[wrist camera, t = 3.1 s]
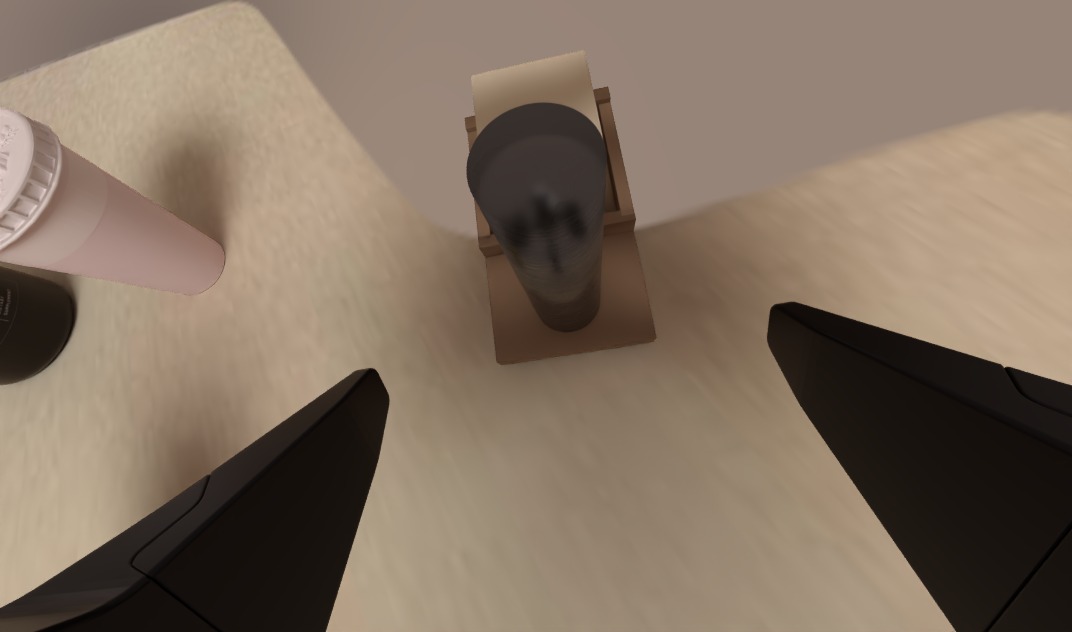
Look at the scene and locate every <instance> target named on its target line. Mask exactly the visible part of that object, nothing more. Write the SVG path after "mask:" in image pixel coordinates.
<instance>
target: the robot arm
mask: <svg viewBox="0 0 1072 632" xmlns="http://www.w3.org/2000/svg"><path fill="white" fill-rule="evenodd" d="M767 342H768V345H769V348H770V350H771V352H772V354H773V356H774V357H775V359H776V361H777V363H778V365H779V367H780V369H781V371H782V373H783V374H784V376H785V378H786V380H787V382H788V384H789V386H790V388H791V390H792V392H793V393H794V395H795V397H796V399H797V401H798V402H799V404H800V406H801V407H802V409H803V410H804V412H805V413H806V415H807V416H808V418H809V419H810V421H811V422H812V424H813V425H814V426H815V428H816V429H817V431H818V432H819V434H820V435H821V437H822V438H823V439H824V441H825V442H826V444H827V445H828V447H829V448H830V450H831V451H832V453H833V454H834V455H835V457H836V458H837V460H838V461H839V463H840V464H841V466H842V467H843V468H844V470H845V471H846V473H847V474H848V476H849V477H850V479H851V480H852V481H853V483H854V484H855V486H856V487H857V489H858V490H859V492H860V493H861V495H862V496H863V497H864V499H865V500H866V502H867V503H868V505H869V506H870V508H871V509H872V510H873V512H874V513H875V515H876V516H877V518H878V519H879V521H880V522H881V524H882V525H883V526H884V528H885V529H886V531H887V532H888V534H889V535H890V537H891V538H892V539H893V541H894V542H895V544H896V545H897V547H898V548H899V550H900V551H901V552H902V554H903V555H904V557H905V558H906V560H907V561H908V563H909V564H910V566H911V567H912V568H913V570H914V571H915V573H916V574H917V576H918V577H919V579H920V580H921V581H922V583H923V584H924V586H925V587H926V589H927V590H928V592H929V593H930V594H931V596H932V597H933V599H934V600H935V602H936V603H937V605H938V606H939V608H940V609H941V610H942V612H943V613H944V615H945V616H946V618H947V619H948V621H949V622H950V623H951V625H952V626H953V628H954V629H955V631H956V632H1072V385H1069V384H1065V383H1062V382H1058V381H1055V380H1051V379H1048V378H1045V377H1041V376H1038V375H1034V374H1031V373H1028V372H1025V371H1021V370H1018V369H1015V368H1012V367H1005V368H1004V367H1003V366H1002V365H1001V364H998V363H995V362H991V361H988V360H985V359H982V358H978V357H975V356H972V355H968V354H965V353H962V352H958V351H955V350H952V349H949V348H945V347H942V346H939V345H935V344H932V343H929V342H925V341H922V340H919V339H916V338H912V337H909V336H906V335H902V334H899V333H896V332H893V331H889V330H886V329H883V328H879V327H876V326H873V325H870V324H866V323H863V322H860V321H856V320H853V319H850V318H846V317H843V316H840V315H837V314H833V313H830V312H827V311H823V310H820V309H817V308H814V307H810V306H807V305H804V304H800V303H797V302H786V303H780V304H775V305H773V306H772V307H771V310H770V315H769V324H768V332H767ZM388 409H389V394H388V392H387V390H386V388H385V386H384V384H383V382H382V380H381V378H380V376H379V374H378V372H377V371H376V370H375V369H373V368H367V369H361V370H357V371H355V372H353V373H352V374H350V375H349V376H347V377H346V378H345V379H343V380H342V381H340V382H339V383H337V384H336V385H335V386H333V387H332V388H330V389H329V390H327V391H326V392H325V393H323V394H322V395H320V396H319V397H318V398H316V399H315V400H313V401H312V402H310V403H309V404H308V405H306V406H305V407H303V408H302V409H300V410H299V411H298V412H296V413H295V414H293V415H292V416H290V417H289V418H288V419H286V420H285V421H283V422H282V423H281V424H279V425H278V426H276V427H275V428H273V429H272V430H271V431H269V432H268V433H266V434H265V435H263V436H262V437H261V438H259V439H258V440H256V441H255V442H254V443H252V444H251V445H249V446H248V447H246V448H245V449H244V450H242V451H241V452H239V453H238V454H236V455H235V456H234V457H232V458H231V459H229V460H228V461H226V462H225V463H224V464H222V465H221V466H219V467H218V468H217V469H215V470H214V471H212V473H211V475H210V474H209V475H206V476H205V477H204V478H202V479H201V480H199V481H198V482H196V483H195V484H194V485H192V486H191V487H189V488H188V489H186V490H185V491H184V492H182V493H181V494H179V495H178V496H176V497H175V498H173V499H172V500H170V501H169V502H168V503H166V504H165V505H163V506H162V507H160V508H159V509H157V510H156V511H154V512H153V513H151V514H150V515H148V516H147V517H145V518H144V519H142V520H141V521H139V522H138V523H136V524H134V525H133V526H131V527H130V528H128V529H127V530H125V531H124V532H122V533H121V534H119V535H118V536H116V537H115V538H113V539H111V540H110V541H108V542H107V543H105V544H104V545H102V546H101V547H99V548H98V549H96V550H94V551H93V552H91V553H90V554H88V555H87V556H85V557H84V558H82V559H80V560H79V561H77V562H76V563H74V564H73V565H71V566H70V567H68V568H67V569H65V570H63V571H62V572H60V573H59V574H57V575H56V576H54V577H53V578H51V579H49V580H48V581H46V582H45V583H43V584H42V585H40V586H39V587H37V588H35V589H34V590H32V591H31V592H29V593H27V594H26V595H24V596H22V597H21V598H19V599H17V600H15V601H13V602H11V603H9V604H7V605H5V606H3V607H1V608H0V632H326V629H327V626H328V623H329V620H330V616H331V613H332V610H333V607H334V603H335V600H336V597H337V594H338V590H339V587H340V584H341V581H342V577H343V574H344V571H345V568H346V564H347V561H348V558H349V555H350V551H351V548H352V545H353V542H354V538H355V535H356V532H357V529H358V525H359V522H360V519H361V516H362V513H363V509H364V506H365V503H366V500H367V496H368V493H369V490H370V487H371V483H372V480H373V477H374V474H375V470H376V467H377V463H378V459H379V455H380V450H381V445H382V440H383V435H384V429H385V424H386V419H387V414H388Z"/></svg>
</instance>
